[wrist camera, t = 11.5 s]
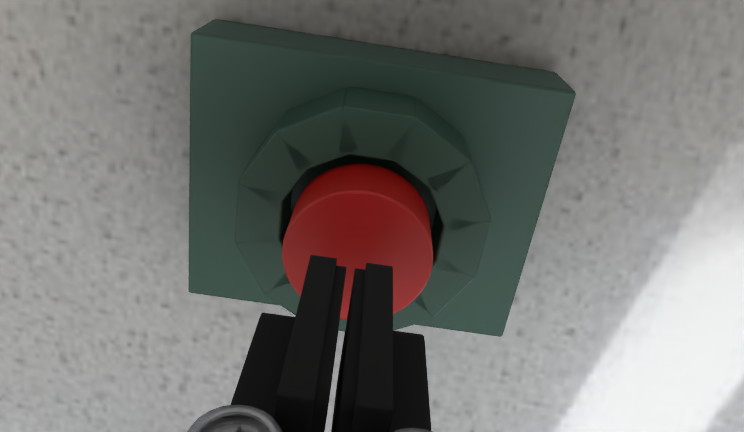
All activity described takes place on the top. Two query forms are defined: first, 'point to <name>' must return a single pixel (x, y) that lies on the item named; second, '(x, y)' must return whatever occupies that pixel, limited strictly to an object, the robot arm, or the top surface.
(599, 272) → the top surface
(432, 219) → the control box
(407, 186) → the stop button
